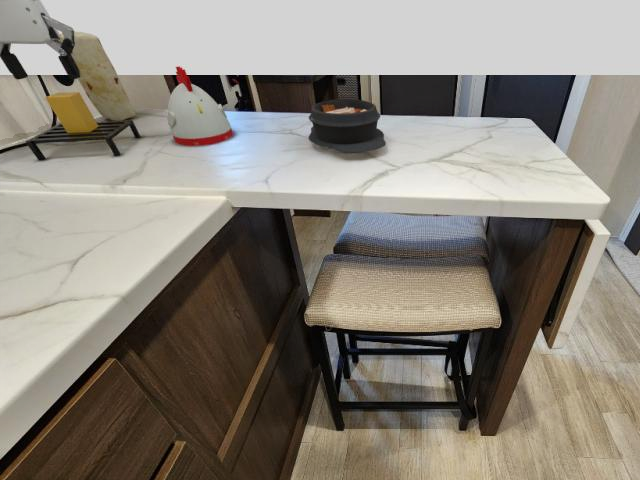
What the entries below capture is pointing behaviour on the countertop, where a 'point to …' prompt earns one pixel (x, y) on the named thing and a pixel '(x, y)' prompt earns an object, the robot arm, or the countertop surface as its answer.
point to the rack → (82, 136)
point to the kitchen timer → (195, 115)
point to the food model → (100, 78)
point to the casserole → (346, 126)
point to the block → (72, 112)
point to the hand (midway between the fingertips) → (49, 78)
